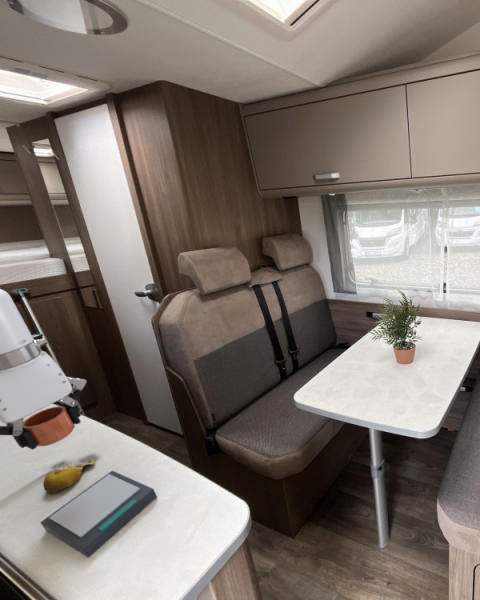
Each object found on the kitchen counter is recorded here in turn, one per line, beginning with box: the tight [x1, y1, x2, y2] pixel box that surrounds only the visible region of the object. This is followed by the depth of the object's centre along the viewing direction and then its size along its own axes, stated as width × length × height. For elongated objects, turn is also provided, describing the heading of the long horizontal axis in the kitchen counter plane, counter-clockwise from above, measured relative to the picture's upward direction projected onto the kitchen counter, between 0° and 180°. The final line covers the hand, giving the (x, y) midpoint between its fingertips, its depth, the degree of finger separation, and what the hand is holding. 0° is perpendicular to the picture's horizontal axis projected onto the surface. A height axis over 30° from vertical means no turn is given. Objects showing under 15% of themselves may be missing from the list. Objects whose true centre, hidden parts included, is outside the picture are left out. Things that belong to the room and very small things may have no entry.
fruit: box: [42, 459, 96, 495], centre depth 71 cm, size 8×8×4 cm
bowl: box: [23, 405, 76, 447], centre depth 62 cm, size 6×6×5 cm
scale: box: [40, 470, 158, 558], centre depth 63 cm, size 14×12×3 cm
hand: (53, 433), depth 63 cm, fingers closed on bowl, 6 cm apart
